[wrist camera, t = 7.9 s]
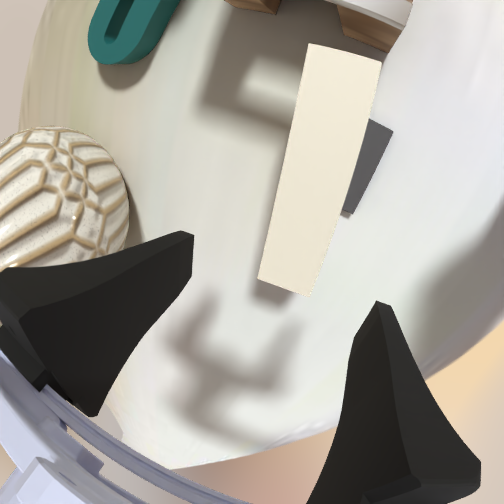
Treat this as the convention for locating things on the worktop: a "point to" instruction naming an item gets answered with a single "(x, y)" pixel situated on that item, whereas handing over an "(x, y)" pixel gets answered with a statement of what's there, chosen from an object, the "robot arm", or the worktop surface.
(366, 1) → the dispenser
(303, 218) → the cream flat block piece
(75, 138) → the vase
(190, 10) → the worktop surface
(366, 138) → the mat
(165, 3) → the bracket
